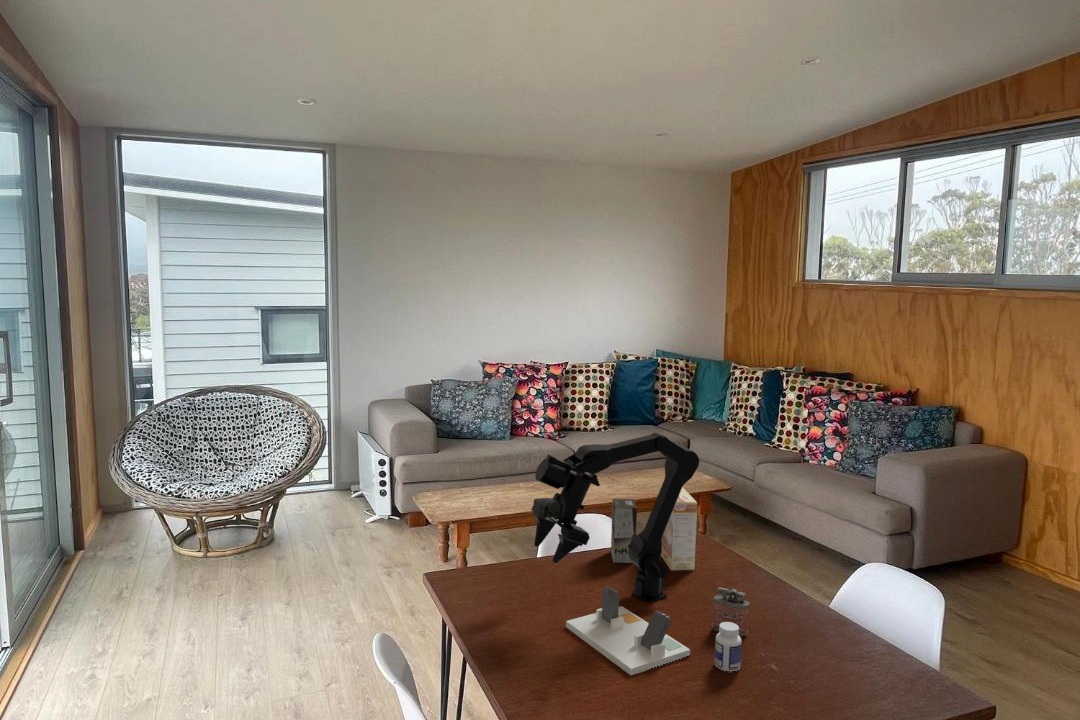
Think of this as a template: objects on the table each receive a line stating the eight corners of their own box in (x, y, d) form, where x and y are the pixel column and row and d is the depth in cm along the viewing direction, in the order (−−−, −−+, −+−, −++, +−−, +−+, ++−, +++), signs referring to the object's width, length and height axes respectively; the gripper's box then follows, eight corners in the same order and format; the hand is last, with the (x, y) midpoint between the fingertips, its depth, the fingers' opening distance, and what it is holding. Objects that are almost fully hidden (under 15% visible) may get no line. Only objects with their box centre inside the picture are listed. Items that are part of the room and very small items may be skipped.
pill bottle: (741, 662, 160) (743, 622, 159) (739, 675, 155) (741, 634, 154) (715, 658, 161) (717, 618, 160) (712, 670, 156) (715, 629, 155)
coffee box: (635, 563, 213) (637, 508, 211) (612, 563, 213) (614, 507, 211) (632, 551, 222) (634, 498, 220) (610, 551, 222) (612, 497, 220)
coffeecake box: (656, 550, 223) (659, 486, 221) (680, 550, 224) (683, 486, 221) (669, 570, 208) (672, 502, 206) (695, 570, 209) (698, 501, 207)
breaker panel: (621, 612, 182) (622, 576, 181) (689, 656, 162) (691, 616, 161) (566, 627, 174) (567, 589, 173) (630, 675, 154) (632, 633, 153)
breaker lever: (607, 617, 175) (608, 584, 174) (618, 625, 171) (620, 591, 170) (601, 619, 174) (602, 585, 173) (612, 627, 170) (613, 593, 170)
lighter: (749, 632, 174) (751, 590, 172) (746, 638, 170) (749, 596, 169) (714, 624, 177) (716, 583, 176) (710, 630, 174) (713, 589, 173)
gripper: (528, 472, 186) (501, 530, 186) (566, 500, 170) (537, 563, 170) (562, 485, 192) (536, 541, 192) (602, 513, 176) (574, 574, 176)
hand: (544, 554), depth 182 cm, fingers open, 9 cm apart
